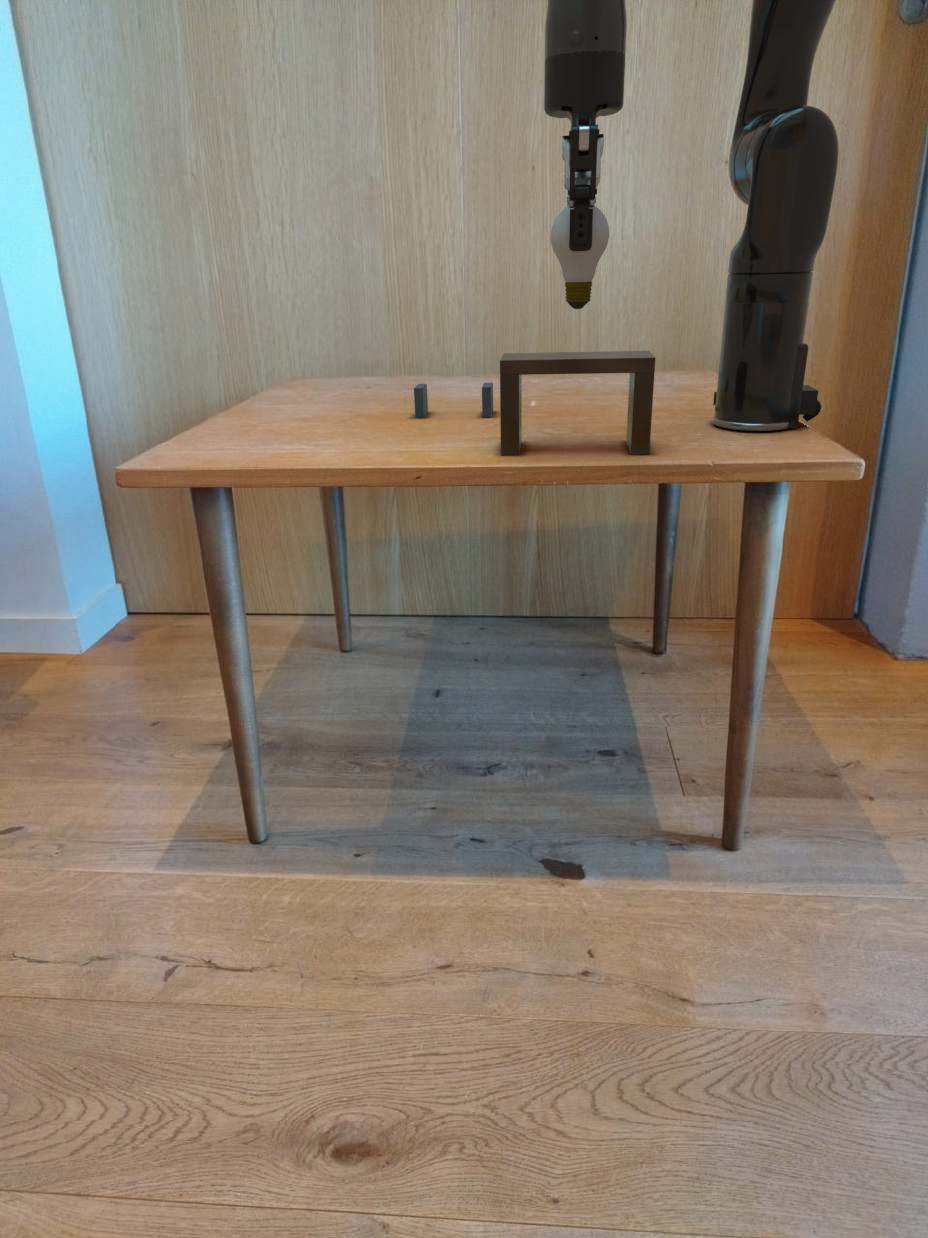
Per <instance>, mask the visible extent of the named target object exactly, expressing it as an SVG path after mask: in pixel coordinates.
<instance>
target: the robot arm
mask: <svg viewBox="0 0 928 1238" xmlns="http://www.w3.org/2000/svg"><path fill="white" fill-rule="evenodd" d="M836 1H837V0H752V2H751V11H750V25H749V33H748V35H749V36H748V47H747V58H746V64H745V72H744V78H743V83H742V90H741V94H740V100H739V105H738V110H737V113H736V120H735V124H734V129H733V134H732V139H731V145H730V150H729V156H728V157H729V158H728V177H729V182H730V186H731V188H732V191H733V193H734V195H735V196H736V197H737V199H739V201H740V202H742V203H743V204H744V205H746V206H747V212H746V217H745V218H746V219H745V224H744V227H743V230H742V233H741V235H740V237H739V239H738V241H737V242H736V243H735V244H734V245H733V247H732V248H731V250H730V253H729V257H728V268H727V273H728V274H727V279H726V280H727V281H726V290H725V302H724V312H723V322H722V332H721V333H722V335H721V342H720V351H719V352H720V354H719V363H718V374H717V384H716V391H714V393H713V401H712V403H713V404H712V406H714V415H713V417H712V424H713V425H715V426H717V427H720V428H723V429H728V430H735V431H745V432H770V431H774V432H775V431H782V430H787V429H799V428H798V427H799V421H800V416H802V418H803V419H804V421H805V422H807V423H808V422H809V421H811V420H813V419H814V418H816V417H817V416H818V415H819V414H820V412H821V410H822V403H821V402H820V401H819V400H818V396H819V390H818V389H817V388H814V387H813V386H810V385H809V384H805V375H806V371H807V370H806V369H807V363H808V362H807V361H808V354H809V345H808V344H807V343H805V335H806V328H807V322H808V321H807V320H808V314H809V305H810V298H811V291H812V282H813V275H814V272H813V271H814V270H815V262H816V258H817V255H818V253H819V251H820V249H821V247H822V245H823V243H824V241H825V237H826V234H827V229H828V224H829V220H830V213H831V207H832V201H833V196H834V191H835V186H836V179H837V173H838V164H839V151H840V150H839V138H838V133H837V130H836V129H837V128H836V126H835V124H834V122H833V120H832V119H831V117H830V116H829V115H828V114H827V113H826V112H825V111H823V110H822V109H820V108H818V107H816V106H812V105H808V102H809V101H808V100H809V91H810V83H811V76H812V72H813V71H812V70H813V67H814V61H815V57H816V54H817V51H818V47H819V44H820V41H821V39H822V38H823V37H822V36H823V33H824V31H825V29H826V26H827V24H828V22H829V19H830V16H831V14H832V11H833V9H834V6H835V5H836ZM626 7H627V6H626V0H547V9H546V17H545V26H544V80H543V81H544V84H543V85H544V92H543V93H544V95H543V96H544V97H543V105H544V106H543V108H544V109H543V110H544V113H545V114H546V115H547V116H548V117H550V118H555V119H568V120H569V121H570V130H568V135H562V141H561V143H562V145H561V158H562V161H564V162H563V163H564V166H563V167H564V168H563V169H564V170H563V171H564V174H563V187H564V189H565V190H566V191H567V197H566V207H567V206H569V208H574V209H570V231H569V248H570V250H571V251H589V250H590V249H591V247H592V227H593V209H589V208H591V207H594V206H595V204H597V197H596V195H598V185H599V184H600V182H601V169H602V165H601V164H602V157H603V154H604V146H605V134H604V133H600V128H599V124H597V118H599V117H607V116H612V115H615V114H618V113H619V112H620V111H621V110H622V109H623V107H624V98H625V97H624V96H625V71H626V53H627V52H626V51H627V49H626V48H627V47H626V46H627V19H628V18H627V8H626Z"/></svg>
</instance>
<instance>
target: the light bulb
mask: <svg viewBox="0 0 928 1238" xmlns="http://www.w3.org/2000/svg"><path fill="white" fill-rule="evenodd" d="M570 209H574V208H569V206H567V205H566V206H565V207H564V208H563V209H562V210H561V211H559V212H558V214H557V215H556V216H555V219H554V221H553V223H552V225H551V230H550V244H551V247H552V250H553V253H554V254H555V257H556V258H557V260H558V262H559V265H560V268H561V272H562V278H563V280H564V282H565V283H564V288H565V289H564V290H565V294H564V295H565V302H566V303H567V304H568V305H569V307H571V308H572V309H573V310H581V309H583V308H584V307H585V306H586V305H587V304H588V303H589V302H591V301H592V300H591V297H592V296H591V294H592V292H591V291H592V286H593V280H594V277H595V276H596V271H597V266H598V264H599V262H600V260H601V258H602V256H603V254H604V253H605V251H606V249H607V248H608V247H607V246H608V244H609V239H610V226H609V223H608V219H607V217H606V216H605V213H603V211H602V210H601V209H600V208H599V207H598V206H596V205H594V207H591V208H589V209H593V227H592V247H591V249H590V250H589V251H571V250H570V248H569V231H570Z"/></svg>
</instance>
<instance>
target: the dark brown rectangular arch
mask: <svg viewBox="0 0 928 1238" xmlns="http://www.w3.org/2000/svg"><path fill="white" fill-rule="evenodd" d="M655 370H656V357H655V355H653V353H652V352H651V351H650V350H621V351H618V350H617V351H616V350H615V351H614V350H613V351H612V350H611V351H563V352H562V351H561V352H555V351H554V352H511V353H508V352H507V353H505V352H504V353H503V354H502V355H501V358H500V359H499V405H500V408H499V409H500V412H499V413H500V415H499V416H500V418H499V419H500V455H501V456H519V455H520V453H521V452H520V451H521V447H522V440H523V439H522V429H523V428H522V415H523V413H522V405H523V403H522V394H523V393H522V391H523V390H522V387H523V385H522V379H523V378H522V375H523V376H524V375H525V376H526V375H533V376H534V375H586V374H587V375H589V374H590V375H592V374H595V375H596V374H597V375H599V374H629V380H628V399H627V400H628V401H627V420H626V437H625V439H626V440H625V441H626V445H627V448H628V451H629V454H630V455H650V449H651V433H652V416H653V404H654V403H653V402H654V388H655V387H654V386H655V372H656V371H655Z"/></svg>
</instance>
